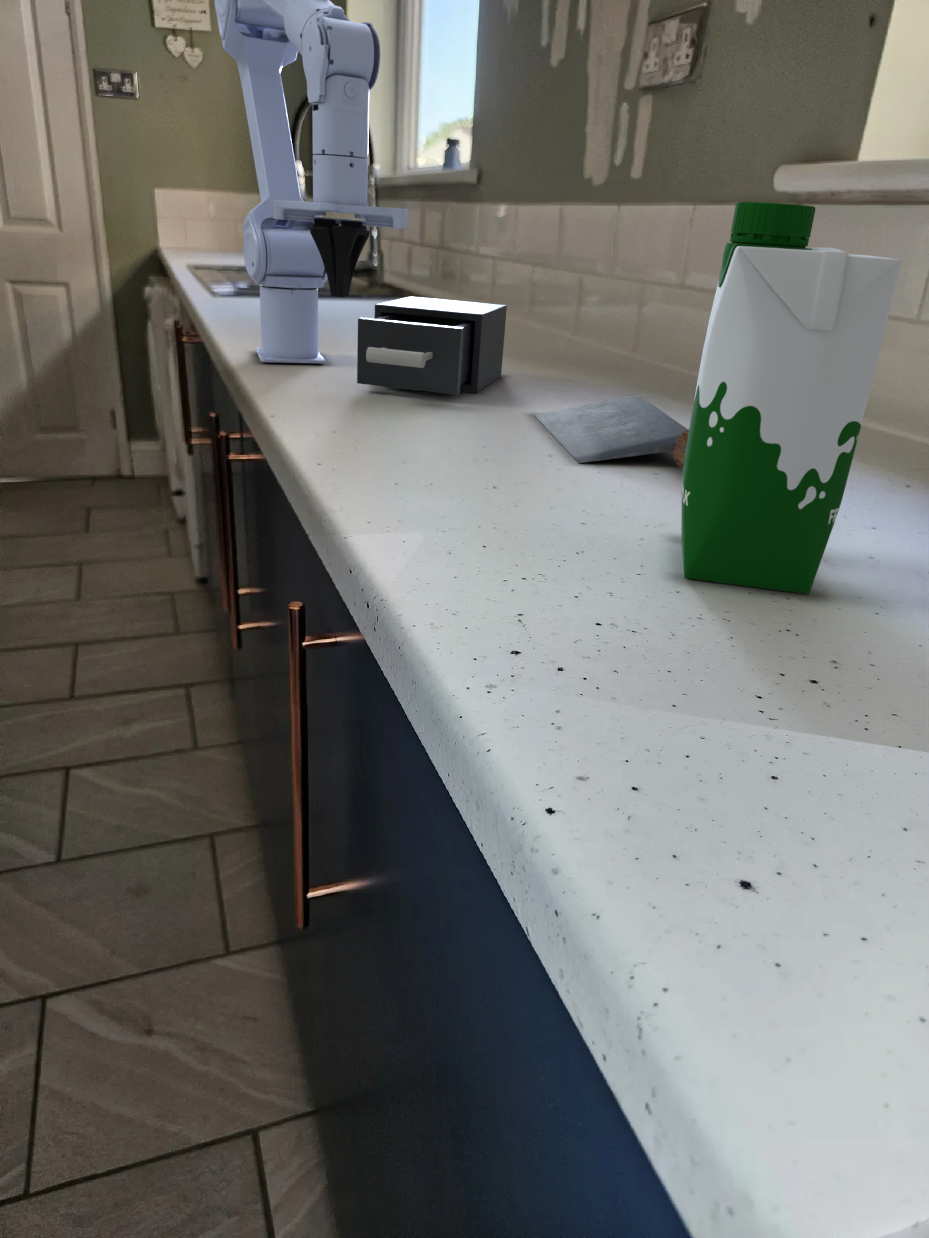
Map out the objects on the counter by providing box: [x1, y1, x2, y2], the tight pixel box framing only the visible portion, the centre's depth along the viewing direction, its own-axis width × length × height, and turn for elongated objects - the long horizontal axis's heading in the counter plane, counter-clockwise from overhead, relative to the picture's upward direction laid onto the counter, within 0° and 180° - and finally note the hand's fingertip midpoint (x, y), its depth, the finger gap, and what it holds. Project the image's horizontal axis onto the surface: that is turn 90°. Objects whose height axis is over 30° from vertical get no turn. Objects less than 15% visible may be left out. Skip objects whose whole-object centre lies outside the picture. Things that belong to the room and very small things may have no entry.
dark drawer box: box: [356, 313, 475, 396], centre depth 96 cm, size 17×11×7 cm, turn 166°
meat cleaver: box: [534, 394, 689, 470], centre depth 76 cm, size 34×11×4 cm, turn 8°
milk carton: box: [680, 201, 903, 595], centre depth 49 cm, size 9×9×20 cm
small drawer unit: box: [374, 295, 508, 394], centre depth 105 cm, size 14×13×9 cm
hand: (339, 296), depth 96 cm, fingers closed
